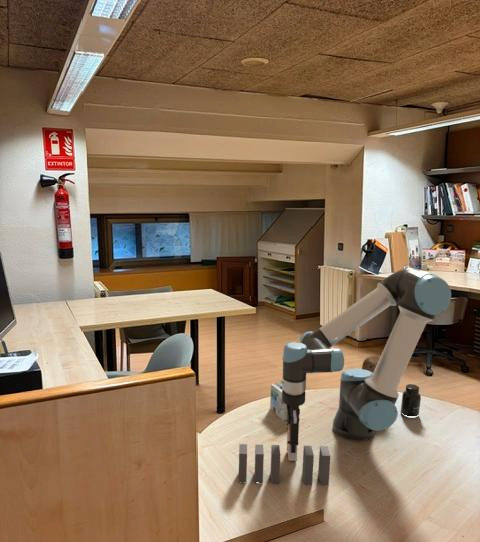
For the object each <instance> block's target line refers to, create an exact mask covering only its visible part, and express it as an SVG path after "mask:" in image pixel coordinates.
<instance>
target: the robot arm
mask: <svg viewBox="0 0 480 542" xmlns="http://www.w3.org/2000/svg"><path fill="white" fill-rule="evenodd" d="M451 300H452V290H451V288H450V285H449V283H448V282H447V281H446V280H445V279H443V278H442V277H440V276H438V275H437V274H433V273H430V272H428V271H424V270H423V269H420V268H417V267H406V268H402V269H400V270H398V271H395V272H393V273H392V274H390V275H388V276H387V277H384V279H382V280H381V281H379V282H378V283H377V285H376V288H375V289H373V290H372V291H370V292H369V293H367V294H366V295H365V296H364V297H362V298H360V299H359V300H358V301H357V302H355V303H353V304H352V305H350V306H349V307H347V308H346V309H345V310H343V311H342V312H340V313H339V314H337V316H335V317H333V318H332V319H330V320H329V321H328V322H327V323H325V324H324V325H322V326H321V327H319V328H317V330H315V331H305V332H304V333H302V334H301V336H300V338H299V342H297V341H296V342H295V341H292V342H288V343H286V344H285V345H284V347H283V350H282V351H283V352H282V380H280V382H281V383H283V384H282V389H283V390H282V401H283V403H285V404H286V405H287V420H286V426H287V427H286V430H287V432H286V450H287V449H288V444H289V454H288V453H287V457H288V461H294V462H296V461H298V446H299V444H300V443H299V429H300V427H299V426H300V413H301V409H300V406H302V405H304V404H305V402H306V389H307V374H318V373H320V374H322V373H334V372H335V373H336V372H341V371H342V372H341V373H340V374H341V376H340V379H339V381H340V386H339V399H338V400H339V401H338V402H339V403H338V409H337V412H336V414H335V416H334V418H333V420H332V430H333V431H334V432H335V434H337V435H338V436H340V437H341V438H344V439H346V440H350V441H356V442H357V441H358V442H361V441H362V442H363V441H367V440H370V439H372V438H373V437H374V436H375V432H376V431H377V432H378V431H383V430H385V429H388V428H390V427H392V425H394V423H395V422H396V420H397V418H398V414H399V413H398V408H397V406H396V403H397V401H398V398H399V396H400V394H399V392H398V389H397V388H398V386H399V384H400V382H401V379H402V378H403V376H404V373H405V371H406V369H407V366H408V365H409V363H410V360H411V358H412V355H413V354H414V352H415V349H416V346H417V345H418V343H419V340H420V338H421V336H422V333H423V332H424V330H425V327H426V325H427V323H430V322H433V321H434V319H435V318H436V316H437V315H440V314H441V313H442V312H445V311H446V310H447V309H448V307H449V306H450V304H451ZM390 306H392V307H393V306H394V307H395V306H397V307H398V309H399V314H398V316H397V318H396V321H395V323H394V326H393V328H392V330H391V332H390V334H389V336H388V339H387V341H386V342H385V343H386V344H385V346H384V348H383V350H382V353H381V355H380V356H379V357H380V359H379V361H378V364H377V366H376V368H375V370H374V372H373V373H372V372H370V371H368V370H364V369H362V368H348V369H345V370H343V369H344V366H345V356H344V353H343V350H342V349H341V348H338V347H334V345H336V344H337V343H338V342H340V341H342V339H344V338H346V337H347V336H348V335H350V334H351V333H352V332H354V331H356V330H357V329H358V328H360V327H361V326H363V325H364V324H366V323H367V322H369V321H370V320H372V319H373V318H374V317H376V316H378V314H380V313H382V312H383V311H384V310H386V309H387V308H390ZM288 424H290V441H288Z"/></svg>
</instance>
